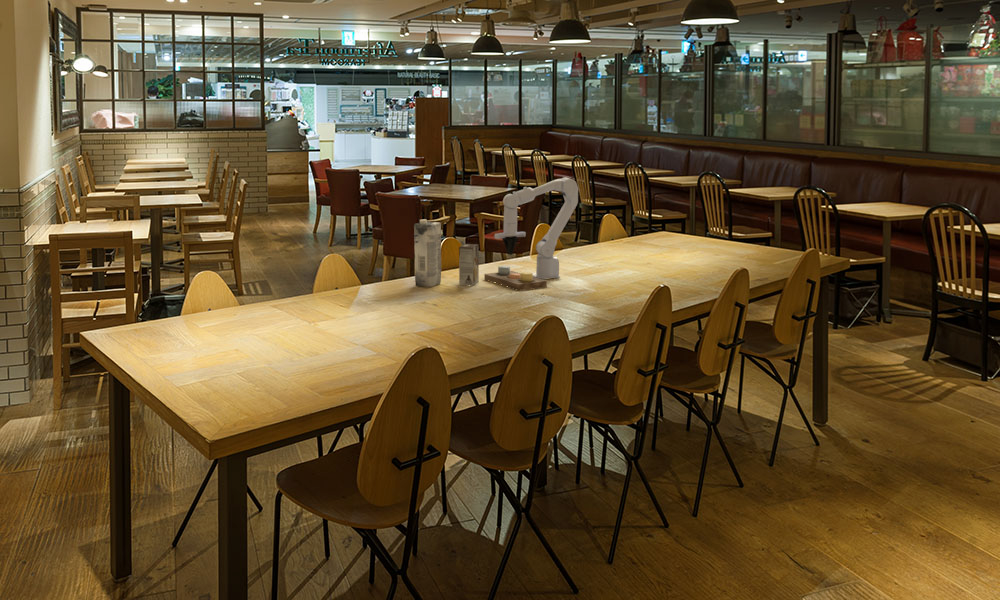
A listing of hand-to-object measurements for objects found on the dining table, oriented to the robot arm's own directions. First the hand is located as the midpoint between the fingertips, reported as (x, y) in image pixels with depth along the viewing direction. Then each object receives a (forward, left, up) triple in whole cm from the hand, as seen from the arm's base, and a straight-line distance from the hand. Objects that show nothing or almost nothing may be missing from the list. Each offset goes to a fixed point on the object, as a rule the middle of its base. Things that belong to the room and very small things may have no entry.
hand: (509, 254), depth 376 cm
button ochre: (+4, +19, -8) cm, 21 cm away
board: (+4, +10, -10) cm, 15 cm away
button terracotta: (+4, +10, -10) cm, 15 cm away
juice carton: (+37, -5, -11) cm, 39 cm away
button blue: (+4, +2, -8) cm, 9 cm away
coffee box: (+21, +1, -11) cm, 23 cm away
